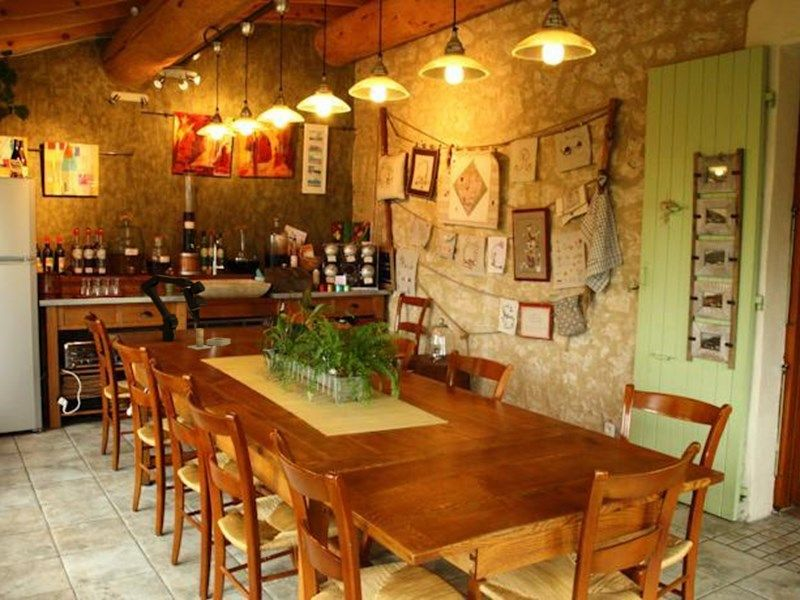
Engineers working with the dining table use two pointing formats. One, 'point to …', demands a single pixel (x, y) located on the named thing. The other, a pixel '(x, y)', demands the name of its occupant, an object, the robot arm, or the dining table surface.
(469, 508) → the dining table surface
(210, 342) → the collar
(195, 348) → the pad
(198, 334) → the post
